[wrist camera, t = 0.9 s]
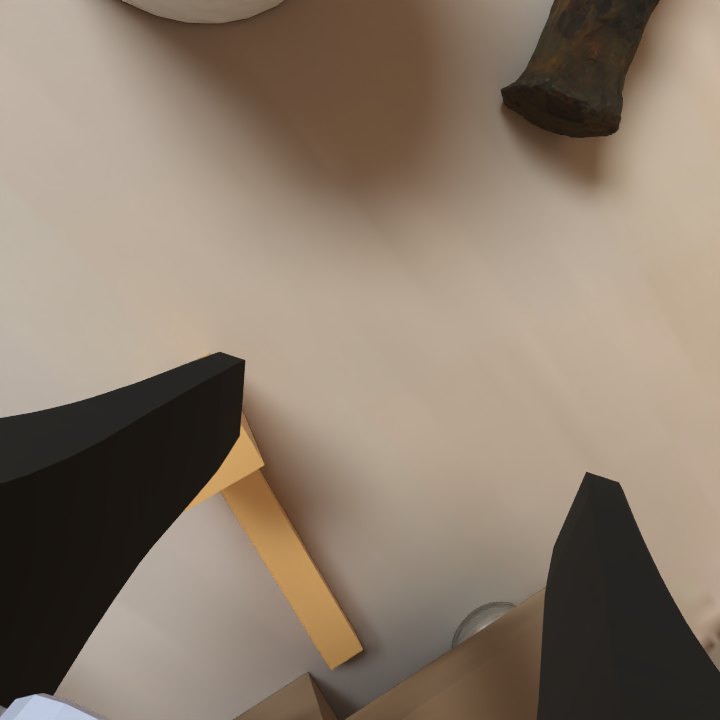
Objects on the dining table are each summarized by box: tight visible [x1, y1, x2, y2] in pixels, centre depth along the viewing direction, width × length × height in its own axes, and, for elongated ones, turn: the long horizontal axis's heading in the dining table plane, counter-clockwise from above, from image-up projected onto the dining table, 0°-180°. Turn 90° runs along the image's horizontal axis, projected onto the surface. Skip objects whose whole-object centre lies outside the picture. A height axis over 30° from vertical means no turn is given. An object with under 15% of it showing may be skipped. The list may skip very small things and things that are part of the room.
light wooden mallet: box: [184, 354, 363, 670], centre depth 23 cm, size 3×13×6 cm, turn 27°
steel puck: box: [452, 602, 517, 649], centre depth 30 cm, size 4×4×2 cm
